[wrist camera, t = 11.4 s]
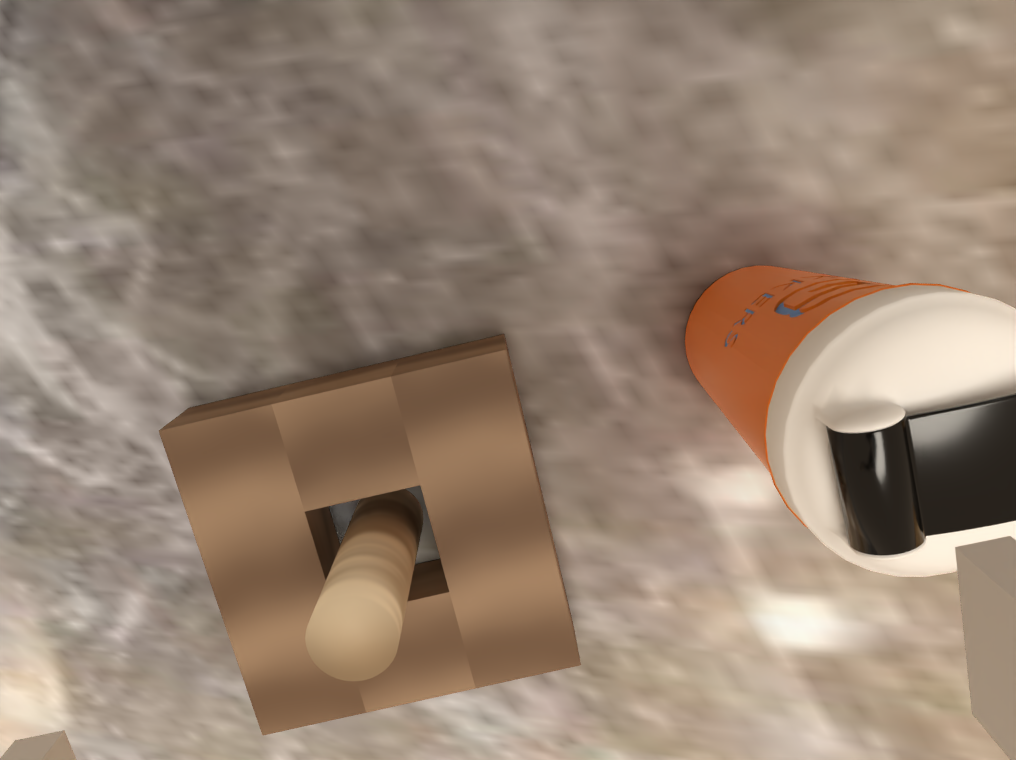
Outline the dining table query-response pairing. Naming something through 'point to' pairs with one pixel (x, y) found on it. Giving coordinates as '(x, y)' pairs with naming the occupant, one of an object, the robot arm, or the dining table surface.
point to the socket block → (364, 473)
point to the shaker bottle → (869, 407)
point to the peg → (367, 589)
